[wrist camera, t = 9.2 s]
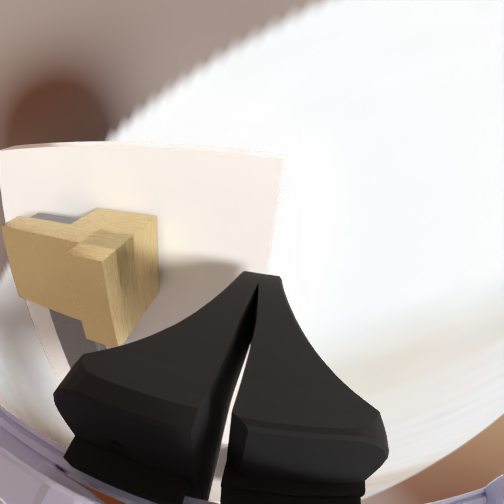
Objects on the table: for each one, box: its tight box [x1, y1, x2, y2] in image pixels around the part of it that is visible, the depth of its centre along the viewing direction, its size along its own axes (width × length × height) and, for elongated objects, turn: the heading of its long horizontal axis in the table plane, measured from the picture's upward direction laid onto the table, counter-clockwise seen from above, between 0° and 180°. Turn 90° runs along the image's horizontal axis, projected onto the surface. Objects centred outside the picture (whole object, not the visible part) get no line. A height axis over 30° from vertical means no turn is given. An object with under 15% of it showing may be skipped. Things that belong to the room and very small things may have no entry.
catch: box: [1, 208, 160, 348], centre depth 11 cm, size 4×6×4 cm, turn 84°
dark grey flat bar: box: [30, 213, 106, 369], centre depth 15 cm, size 16×3×1 cm, turn 174°
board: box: [0, 141, 286, 444], centre depth 15 cm, size 20×16×4 cm
